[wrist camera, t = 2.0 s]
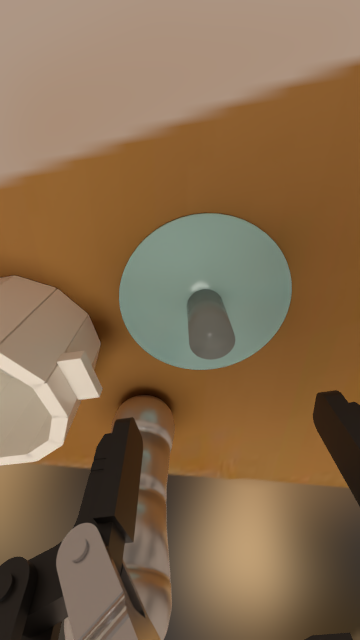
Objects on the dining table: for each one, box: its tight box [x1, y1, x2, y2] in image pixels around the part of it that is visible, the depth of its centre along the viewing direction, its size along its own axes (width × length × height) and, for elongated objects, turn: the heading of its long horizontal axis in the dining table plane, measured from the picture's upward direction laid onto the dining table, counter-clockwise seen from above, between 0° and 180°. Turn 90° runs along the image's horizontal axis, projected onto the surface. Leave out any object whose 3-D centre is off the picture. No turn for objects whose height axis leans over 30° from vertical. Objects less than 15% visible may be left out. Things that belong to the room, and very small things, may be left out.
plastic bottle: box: [64, 395, 175, 640], centre depth 19 cm, size 6×7×20 cm
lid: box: [119, 213, 292, 370], centre depth 18 cm, size 14×14×6 cm
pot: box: [0, 275, 103, 465], centre depth 19 cm, size 15×12×8 cm
